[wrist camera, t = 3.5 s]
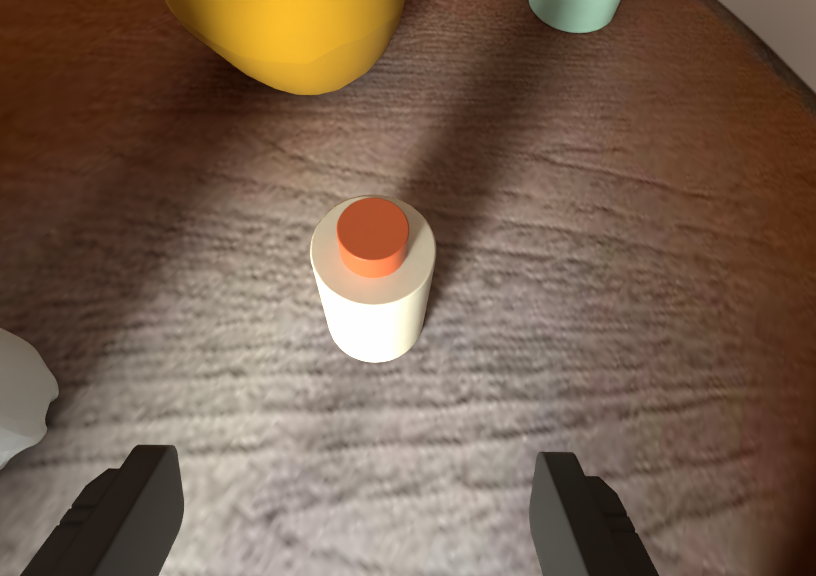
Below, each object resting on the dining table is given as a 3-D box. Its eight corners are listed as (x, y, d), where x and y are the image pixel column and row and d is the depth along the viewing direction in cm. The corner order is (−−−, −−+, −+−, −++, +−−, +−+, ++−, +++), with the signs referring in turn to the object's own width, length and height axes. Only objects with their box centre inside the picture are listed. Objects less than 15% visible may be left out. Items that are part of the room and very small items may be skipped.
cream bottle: (439, 297, 29) (462, 204, 21) (396, 379, 27) (402, 313, 19) (356, 258, 29) (346, 152, 21) (309, 335, 28) (278, 253, 19)
